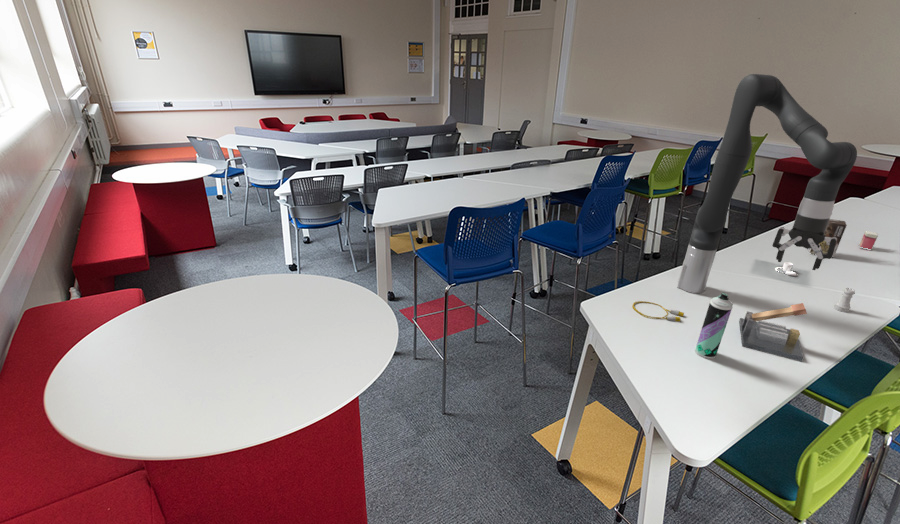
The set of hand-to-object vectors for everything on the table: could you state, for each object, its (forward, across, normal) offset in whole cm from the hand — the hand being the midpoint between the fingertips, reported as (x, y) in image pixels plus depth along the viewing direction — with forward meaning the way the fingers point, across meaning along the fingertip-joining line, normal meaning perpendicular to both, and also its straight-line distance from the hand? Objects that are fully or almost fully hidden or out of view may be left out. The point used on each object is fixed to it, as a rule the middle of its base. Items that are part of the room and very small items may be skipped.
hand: (796, 265), depth 134 cm
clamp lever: (+15, 0, -7) cm, 16 cm away
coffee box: (+25, +1, +94) cm, 97 cm away
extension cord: (+23, -32, -16) cm, 42 cm away
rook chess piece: (+25, +14, +35) cm, 45 cm away
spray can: (+23, -12, -29) cm, 39 cm away
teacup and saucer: (+25, -8, +56) cm, 62 cm away
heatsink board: (+23, 0, -7) cm, 24 cm away
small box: (+26, +16, +120) cm, 124 cm away
